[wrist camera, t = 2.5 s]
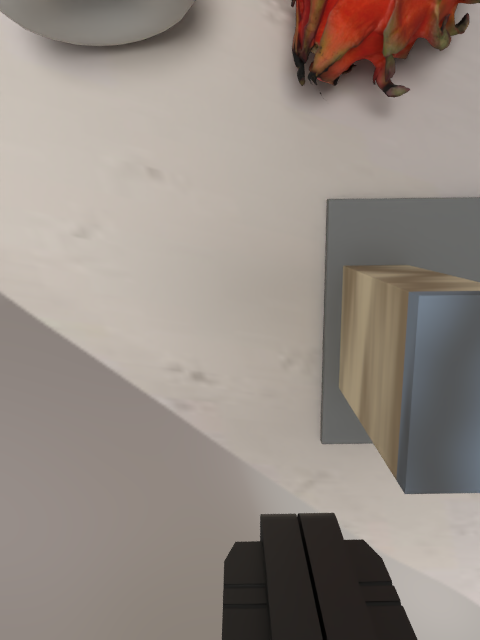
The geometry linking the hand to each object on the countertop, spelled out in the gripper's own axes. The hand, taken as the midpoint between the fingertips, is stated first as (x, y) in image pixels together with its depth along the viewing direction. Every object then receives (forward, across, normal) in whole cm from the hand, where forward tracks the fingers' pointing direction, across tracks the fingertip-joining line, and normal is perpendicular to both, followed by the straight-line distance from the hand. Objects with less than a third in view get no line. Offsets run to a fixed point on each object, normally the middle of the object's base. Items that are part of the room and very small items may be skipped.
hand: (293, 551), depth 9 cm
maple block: (+20, -8, 0) cm, 21 cm away
